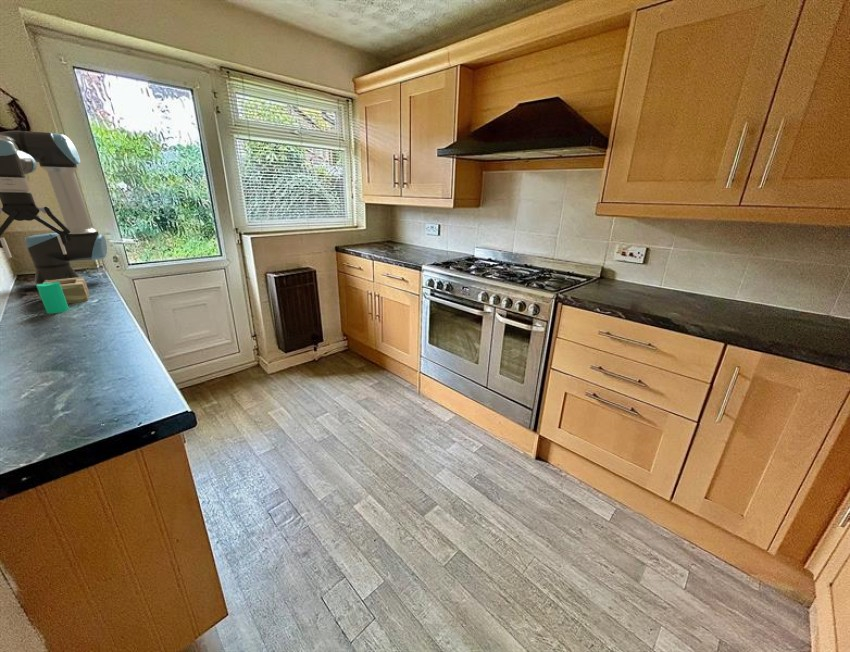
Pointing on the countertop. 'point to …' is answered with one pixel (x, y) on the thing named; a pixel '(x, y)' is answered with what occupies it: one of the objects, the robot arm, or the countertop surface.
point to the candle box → (73, 289)
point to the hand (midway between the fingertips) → (38, 255)
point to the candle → (53, 297)
